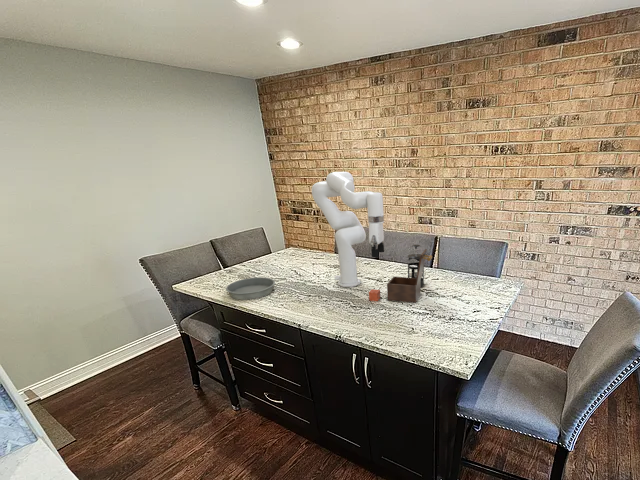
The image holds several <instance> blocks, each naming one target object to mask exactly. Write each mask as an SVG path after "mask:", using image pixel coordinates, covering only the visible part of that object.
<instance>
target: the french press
mask: <svg viewBox="0 0 640 480" xmlns="http://www.w3.org/2000/svg"><path fill="white" fill-rule="evenodd" d="M411 247H414V249H415V250H417V249H418V248H419V247H421V245H420V244H412V245H411ZM421 254H422V253H412V254H408V255H407V257H408V261H411V260H415V262H410V263H408V264H407V278H416V277H417V272H418V267H419V261H420V256H421ZM410 270H411V272H410ZM423 287H425V266H424V267H423V272H422V277H421V288H423Z"/></svg>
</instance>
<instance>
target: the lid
mask: <svg viewBox="0 0 640 480" xmlns="http://www.w3.org/2000/svg"><path fill="white" fill-rule="evenodd" d="M427 252H428V249H427V248H425V249H424V250H423V251H422V252H421V253H420V254H421V256H420V261H418V262H419V267H418V272H417V271H416V272H417V277H416V283H415V285H417V284H418V282H419V281H420V279H421V278H423V276H422V273H423V267H424V268H425V262H426V261H428V262H430V261H431V260H432V259H433V254H432V255H431V254H430V255H428V254H427Z"/></svg>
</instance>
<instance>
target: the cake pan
mask: <svg viewBox="0 0 640 480" xmlns="http://www.w3.org/2000/svg"><path fill="white" fill-rule="evenodd" d="M275 284H276V281H275V280H274V279H273V278H270V277H261V276H260V277H249V278H242V279H238V280H236V281H234V282H231V283H229V284H227V286H226V287H225V290H226V292H228V293H229V295H230V297H231V298H232V299H235V300H243V301H244V300H255V299H259V298H262V297H265V296H267V295H269V294H271V293H272V292H273V290H274V286H275Z"/></svg>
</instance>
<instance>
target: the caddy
mask: <svg viewBox="0 0 640 480" xmlns="http://www.w3.org/2000/svg"><path fill="white" fill-rule="evenodd" d="M415 283H416V278H411V277H409V278H408V276H407V277H406V276H393V277H391V279H390V280H389V281H388V282H387V283H386V291H387V292H386V293H387V294H386V295H387V301H393V302H401V303H402V302H403V303H413V304H414V303H415V304H416V303H417V301H418V300H419V298H420V296H421V291H422V290H421V289H422V287H421V279H420V281H419V282H418V284H417V285H415Z"/></svg>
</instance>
